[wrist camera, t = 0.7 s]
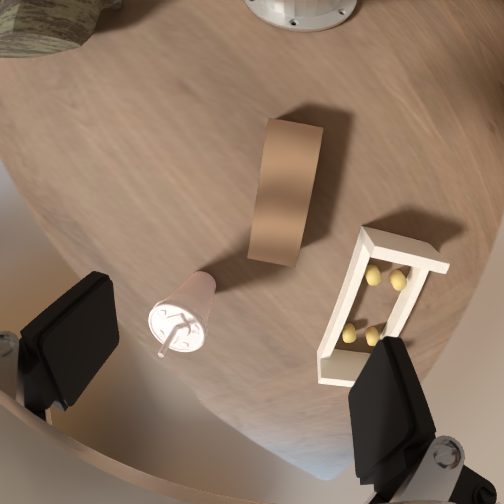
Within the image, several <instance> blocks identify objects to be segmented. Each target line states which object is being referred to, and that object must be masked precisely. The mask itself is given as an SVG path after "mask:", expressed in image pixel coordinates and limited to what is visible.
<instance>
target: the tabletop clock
mask: <svg viewBox="0 0 504 504" xmlns="http://www.w3.org/2000/svg"><path fill="white" fill-rule="evenodd" d="M104 1H105V0H0V58H35V57H40V56H45V55H49V54H54V53H58V52H62V51H66V50H71V49H75V48H78V47H80V46H82V45H83V44H84V42H85V41H86V40H87V39H88V38H89V37H90V36H91V35H92V34H93V33H94V30H95V26H96V23H97V20H98V17H99V14H100V12H101V10H102V9H106V8H110V7H111V8H112V9H114V10H118V9H120V8H121V7H122V6H123V2H122V0H115V1H113V2H112V4H103V3H104Z"/></svg>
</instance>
